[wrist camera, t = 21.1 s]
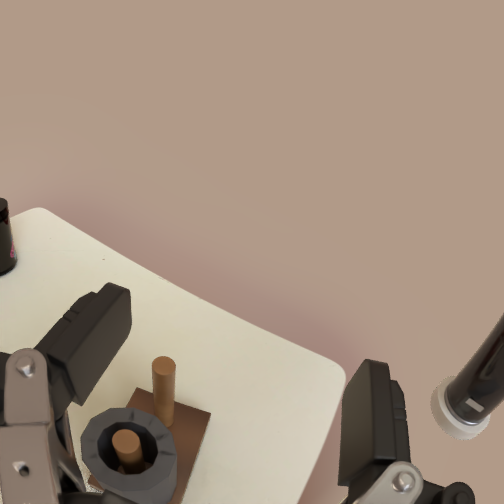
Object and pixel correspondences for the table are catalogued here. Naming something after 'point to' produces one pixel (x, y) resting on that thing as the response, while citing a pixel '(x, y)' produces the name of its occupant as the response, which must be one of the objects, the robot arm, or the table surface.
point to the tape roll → (153, 448)
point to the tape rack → (176, 421)
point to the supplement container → (6, 240)
